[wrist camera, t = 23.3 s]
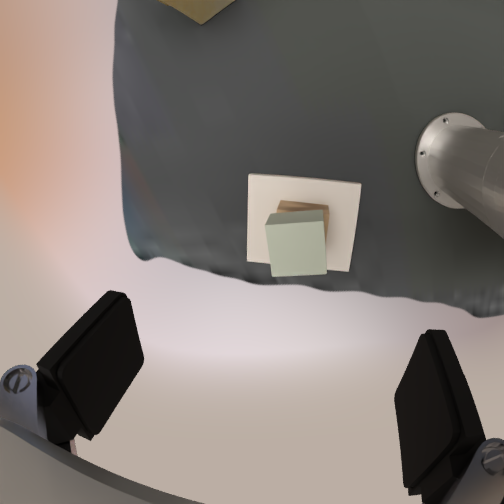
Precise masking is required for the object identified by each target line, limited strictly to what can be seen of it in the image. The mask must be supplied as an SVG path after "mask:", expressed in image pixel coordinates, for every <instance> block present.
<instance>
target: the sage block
mask: <svg viewBox="0 0 504 504" xmlns="http://www.w3.org/2000/svg"><path fill="white" fill-rule="evenodd" d="M265 230H266V237H267V244H268V251H269V258H270V265H271V272H272V277H278V276H299V275H318V274H327V262H326V245H325V231H324V218H323V210H309V211H296V212H283V213H271V214H270V215H269V217H268V219H267V222H266V224H265Z"/></svg>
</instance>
